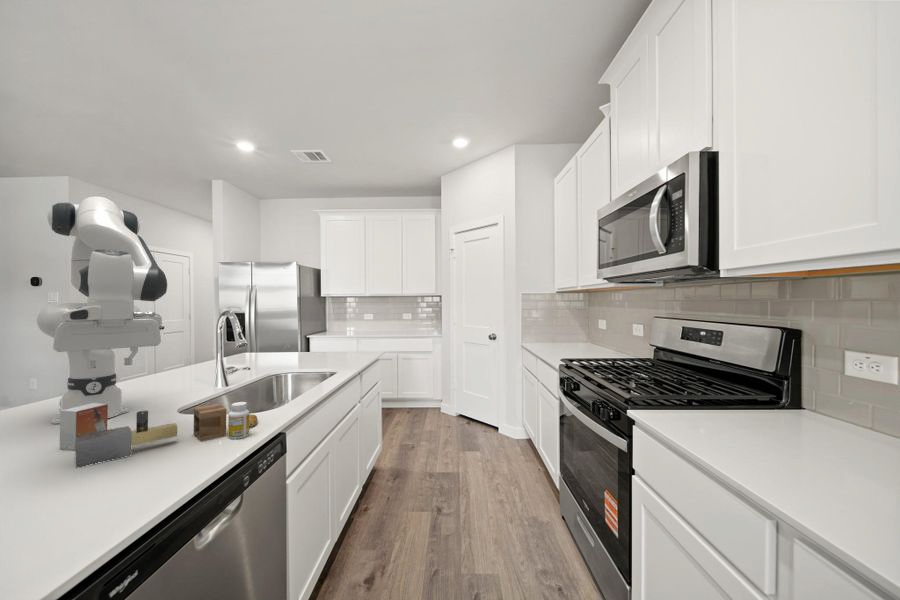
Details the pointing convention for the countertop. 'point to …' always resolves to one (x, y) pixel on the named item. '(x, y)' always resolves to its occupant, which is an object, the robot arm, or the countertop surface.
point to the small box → (81, 422)
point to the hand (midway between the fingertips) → (110, 366)
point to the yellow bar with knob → (151, 430)
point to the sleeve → (103, 446)
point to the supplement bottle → (238, 421)
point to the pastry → (252, 420)
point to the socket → (209, 422)
